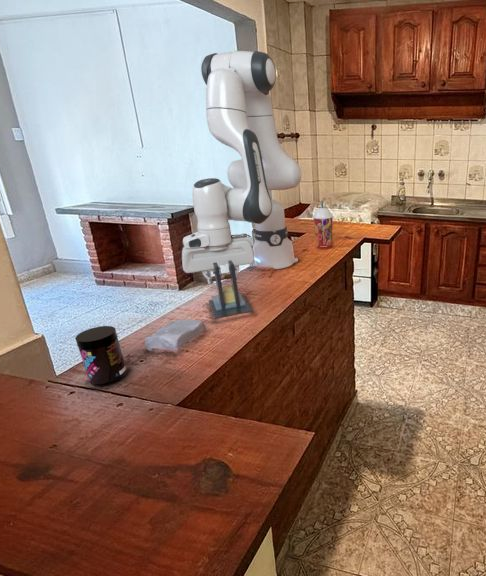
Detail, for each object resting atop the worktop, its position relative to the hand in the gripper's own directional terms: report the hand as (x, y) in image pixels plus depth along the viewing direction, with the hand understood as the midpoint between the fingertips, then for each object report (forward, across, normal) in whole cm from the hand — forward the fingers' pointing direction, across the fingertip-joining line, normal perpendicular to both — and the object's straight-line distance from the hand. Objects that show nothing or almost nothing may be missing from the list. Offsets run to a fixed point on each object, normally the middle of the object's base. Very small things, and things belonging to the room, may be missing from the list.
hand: (222, 281), depth 120 cm
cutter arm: (-3, 0, +6) cm, 7 cm away
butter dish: (+4, 0, +7) cm, 8 cm away
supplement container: (+6, +28, +34) cm, 45 cm away
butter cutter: (+5, 0, +10) cm, 11 cm away
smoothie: (+5, -48, -40) cm, 63 cm away
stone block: (+6, +15, +23) cm, 28 cm away
